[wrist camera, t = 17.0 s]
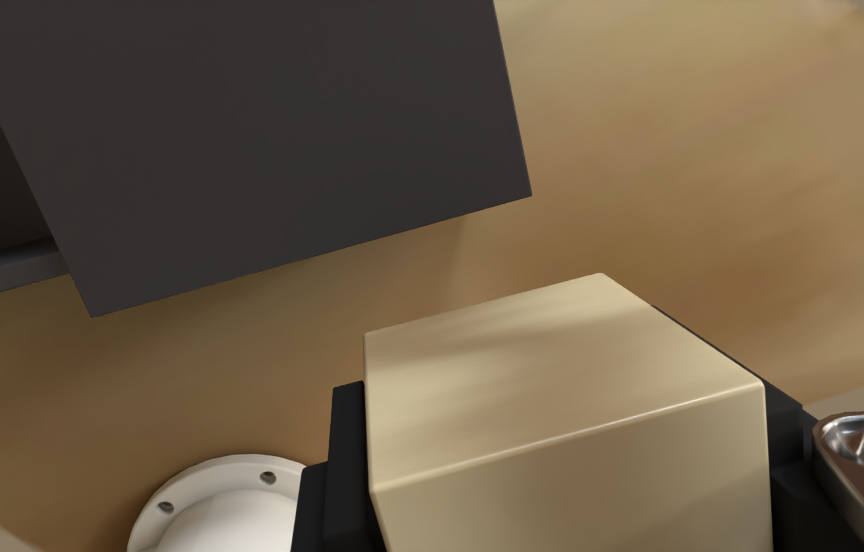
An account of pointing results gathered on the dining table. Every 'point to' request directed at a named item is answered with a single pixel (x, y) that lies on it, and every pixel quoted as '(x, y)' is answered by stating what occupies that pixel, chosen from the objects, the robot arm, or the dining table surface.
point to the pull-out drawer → (23, 230)
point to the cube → (563, 430)
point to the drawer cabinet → (249, 130)
